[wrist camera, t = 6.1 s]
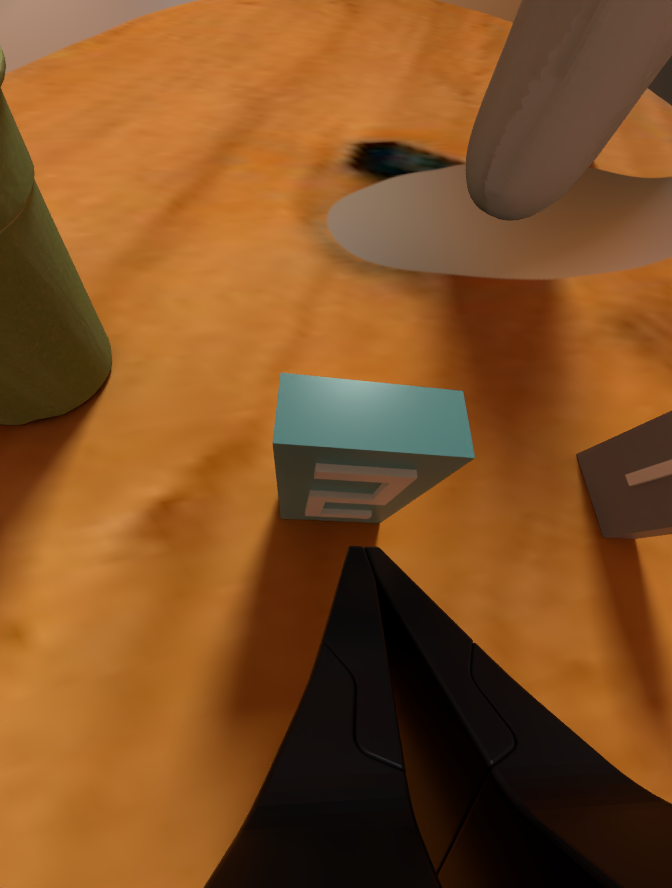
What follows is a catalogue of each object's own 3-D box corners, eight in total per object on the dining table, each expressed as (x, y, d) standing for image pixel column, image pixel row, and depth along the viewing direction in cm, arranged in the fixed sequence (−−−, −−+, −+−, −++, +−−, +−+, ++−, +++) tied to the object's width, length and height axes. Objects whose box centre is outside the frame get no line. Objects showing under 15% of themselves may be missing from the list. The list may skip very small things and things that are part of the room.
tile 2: (380, 527, 16) (476, 467, 8) (280, 523, 15) (271, 452, 7) (378, 481, 17) (461, 384, 9) (284, 475, 16) (281, 365, 8)
